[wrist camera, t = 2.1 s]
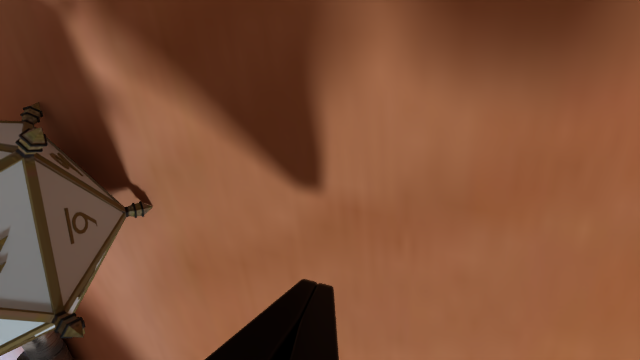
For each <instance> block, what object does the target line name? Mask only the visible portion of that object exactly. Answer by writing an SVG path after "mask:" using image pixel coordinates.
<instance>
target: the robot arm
mask: <svg viewBox="0 0 640 360" xmlns="http://www.w3.org/2000/svg"><path fill="white" fill-rule="evenodd" d="M205 360H339V356H338V343H337V329H336V316H335V303H334V290H333V287H332V286H329V285H326V284H322V283H319V284H317V283H316V282H314V281H310V280H306V279H302V280H301V281H299V282H298V283H297V284H296V285H295V286H293V287H292V288H291V289H290V290H288V291H287V292H286V293H285V294H284V295H282V296H281V297H280V298H279V299H278V300H276V301H275V302H274V303H273V304H271V305H270V306H269V307H268V308H267V309H265V310H264V311H263V312H262V313H261V314H259V315H258V316H257V317H256V318H255V319H253V320H252V321H251V322H250V323H248V324H247V325H246V326H245V327H244V328H242V329H241V330H240V331H239V332H238V333H236V334H235V335H234V336H233V337H232V338H230V339H229V340H228V341H227V342H225V343H224V344H223V345H222V346H221V347H219V348H218V349H217V350H216V351H215V352H213V353H212V354H211V355H210V356H208V357H207V358H206V359H205Z"/></svg>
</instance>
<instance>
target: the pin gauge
mask: <svg viewBox="0 0 640 360" xmlns="http://www.w3.org/2000/svg"><path fill="white" fill-rule="evenodd" d="M22 348H23V349H24V352H23V353H22V354H21V355H20V356H19V357H18V358H17V360H73V358H72V356H71V354H70V352H69V350H68V348H67V346H66V344H65V342H64V341H63V340H62V338H60V334H59V333H56V332H55V331H54V330H53V331H51V332H49V333H47V334H44V335H42V336H40V337H38V338H36V339H34V340H32V341H30V342H28V343H26V344H24V345H22Z"/></svg>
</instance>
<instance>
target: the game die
mask: <svg viewBox="0 0 640 360" xmlns="http://www.w3.org/2000/svg"><path fill="white" fill-rule="evenodd" d="M23 110H24V112H23V113H22V114H21V116H22V121H0V356H1V355H3V354H5V353H7V352H10V351H12V350H14V349H16V348H18V347H20V346H22V345H24V344H26V343H28V342H30V341H32V340H34V339H36V338H38V337H40V336H42V335H44V334H47V333H49V332H51V331H53V330H54V331H55V332H56V333H60V334H61V335H60V338H72V337H84V336H83V334H85V331H84V327H85V323H84V320H83V319H82V317H80V318H79V317H76V314H75V312H76V310H77V308H78V306H79V304H80V302H81V300H82V299H83V297H84V295H85V293H86V291H87V289H88V287H89V286H90V284H91V282H92V280H93V278H94V276H95V274H96V272H97V271H98V269H99V267H100V265H101V263H102V261H103V259H104V258H105V256H106V254H107V252H108V250H109V248H110V246H111V245H112V243H113V241H114V239H115V237H116V235H117V233H118V232H119V230H120V228H121V226H122V224H123V222H124V220H125V219H126V217H128V216H134V217H135V218H137V216H142V217H144V214H145V213H147V212H148V211H149V210H150V209H151V208H152V207H153V206H150V205H147V204H144V203H142V202H141V201H140V202H139V203H137V204H134V203H132V205H130V206H128V207H124V206H123V205H121V204H120V203H119V202H118V201H117V200H116V199H115V198H114V197H113V196H111V195H110V194H109V193H108V192H107V191H106V190H105V189H104V188H103V187H101V186H100V185H99V184H98V183H97V182H96V181H95V180H94V179H93V178H91V177H90V176H89V175H88V174H87V173H86V172H85V171H84V170H82V169H81V168H80V167H79V166H78V165H77V164H76V163H75V162H74V161H72V160H71V159H70V158H69V157H68V156H67V155H66V154H65V153H64V152H62V151H61V150H60V149H59V148H58V147H57V146H56V145H55V144H53V143H52V142H51V141H50V140H49V139H48V138H47V137H46V135H45V134H43V131H42V127H40V128H36V127H35V126H34V125H35V124H36V123H37V122H38V123H39V122H40V117H43V113H42V111H40V106H39V102H38V103H36V104H34V105H32V106H28V107H25V108H23Z"/></svg>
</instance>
